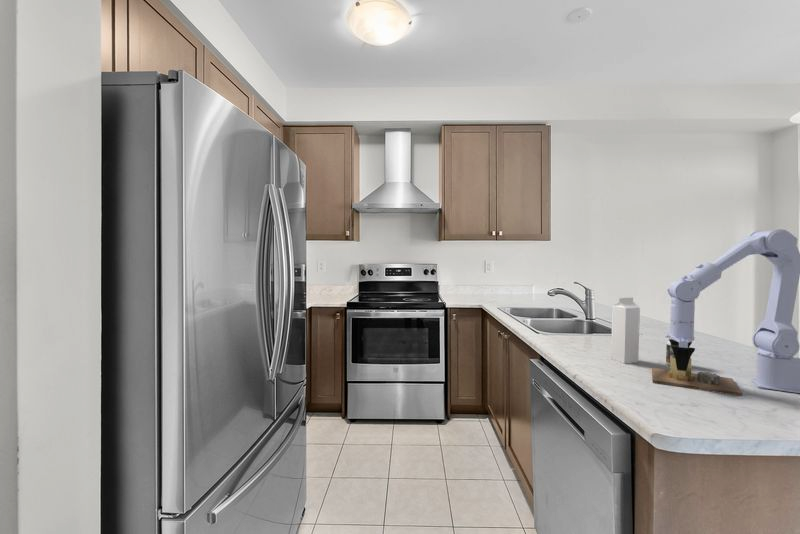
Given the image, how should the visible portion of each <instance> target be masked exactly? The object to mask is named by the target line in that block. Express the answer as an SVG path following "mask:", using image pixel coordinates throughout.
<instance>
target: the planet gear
mask: <svg viewBox="0 0 800 534" xmlns="http://www.w3.org/2000/svg"><path fill="white" fill-rule="evenodd" d="M669 370H670V371H667V375H668V377H672V378H674V379H676V380H678V379H679V380H684V381H687V380H693V374H691V373H692V357H690V360H689V363H688V367H687V370H686V371H681V370H677V366H676V360H675V355H670V365H669Z"/></svg>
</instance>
